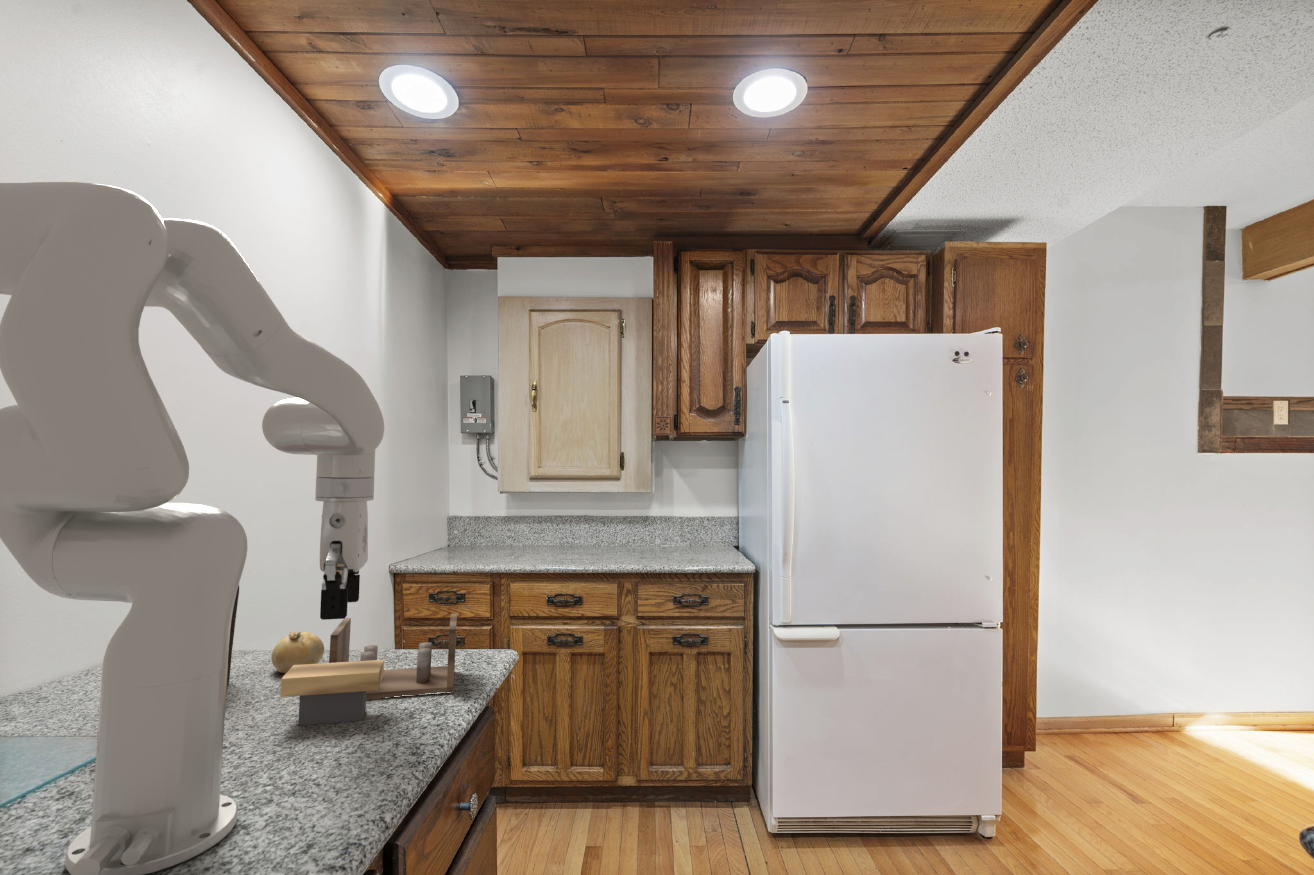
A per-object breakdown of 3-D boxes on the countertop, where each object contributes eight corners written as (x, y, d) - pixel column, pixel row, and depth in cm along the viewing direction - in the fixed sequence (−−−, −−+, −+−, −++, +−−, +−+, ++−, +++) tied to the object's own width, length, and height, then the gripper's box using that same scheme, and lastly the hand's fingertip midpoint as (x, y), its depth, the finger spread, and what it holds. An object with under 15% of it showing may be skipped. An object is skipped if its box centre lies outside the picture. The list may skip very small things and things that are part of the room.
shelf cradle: (453, 693, 98) (455, 629, 99) (326, 702, 93) (330, 635, 93) (454, 671, 109) (456, 613, 109) (341, 678, 103) (344, 618, 104)
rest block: (362, 720, 87) (363, 687, 87) (298, 725, 85) (299, 691, 85) (365, 711, 90) (367, 680, 90) (303, 716, 88) (305, 684, 88)
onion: (265, 669, 108) (268, 627, 108) (316, 660, 113) (318, 621, 113) (276, 681, 102) (278, 637, 102) (329, 671, 107) (331, 630, 107)
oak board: (377, 689, 86) (378, 672, 87) (280, 697, 83) (281, 678, 83) (383, 675, 92) (384, 659, 92) (292, 682, 89) (293, 665, 89)
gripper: (364, 494, 82) (359, 624, 81) (381, 487, 99) (377, 595, 98) (300, 493, 80) (295, 627, 79) (329, 486, 96) (324, 597, 96)
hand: (340, 609), depth 89 cm, fingers open, 9 cm apart
